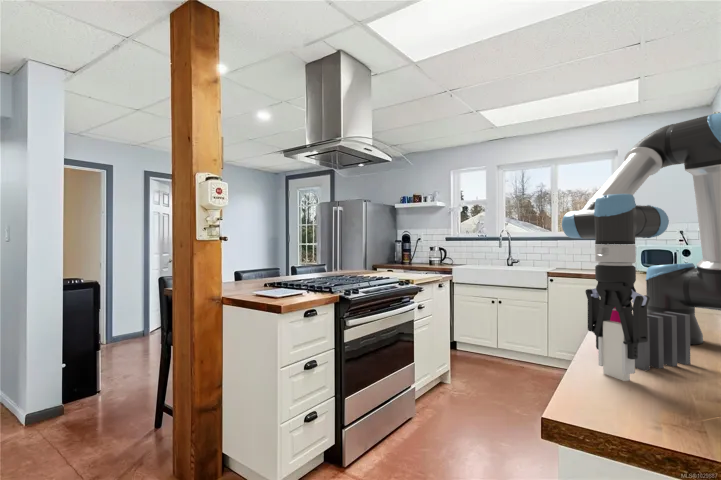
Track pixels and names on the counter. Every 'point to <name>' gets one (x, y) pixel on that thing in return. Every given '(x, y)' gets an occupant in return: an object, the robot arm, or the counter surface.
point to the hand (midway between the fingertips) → (616, 368)
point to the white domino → (613, 350)
